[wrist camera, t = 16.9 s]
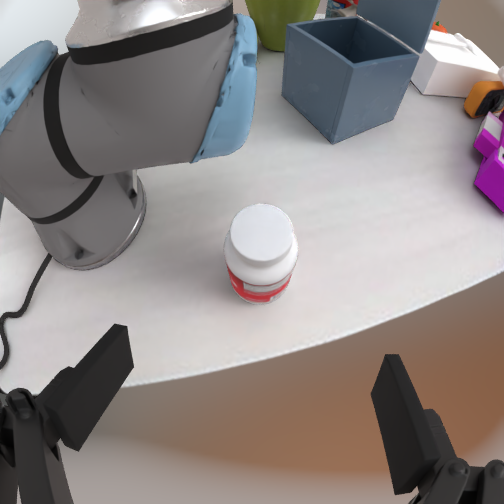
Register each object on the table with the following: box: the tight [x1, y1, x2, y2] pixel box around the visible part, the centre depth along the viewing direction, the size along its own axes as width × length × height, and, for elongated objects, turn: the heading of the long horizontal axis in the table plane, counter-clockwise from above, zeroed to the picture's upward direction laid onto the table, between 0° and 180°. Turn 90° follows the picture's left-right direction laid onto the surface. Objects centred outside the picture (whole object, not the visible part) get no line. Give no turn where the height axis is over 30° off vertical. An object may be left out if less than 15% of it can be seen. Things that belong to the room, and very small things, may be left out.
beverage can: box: [325, 0, 358, 19], centre depth 49 cm, size 7×7×12 cm
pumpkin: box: [431, 22, 447, 34], centre depth 54 cm, size 8×8×7 cm
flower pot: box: [245, 0, 320, 51], centre depth 43 cm, size 15×15×16 cm
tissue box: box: [395, 30, 501, 98], centre depth 44 cm, size 14×25×11 cm, turn 104°
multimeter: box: [464, 81, 504, 118], centre depth 42 cm, size 9×18×3 cm
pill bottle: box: [224, 204, 298, 304], centre depth 27 cm, size 6×6×11 cm
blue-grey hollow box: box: [281, 16, 420, 144], centre depth 37 cm, size 14×13×13 cm
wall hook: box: [338, 0, 367, 21], centre depth 44 cm, size 5×30×4 cm
